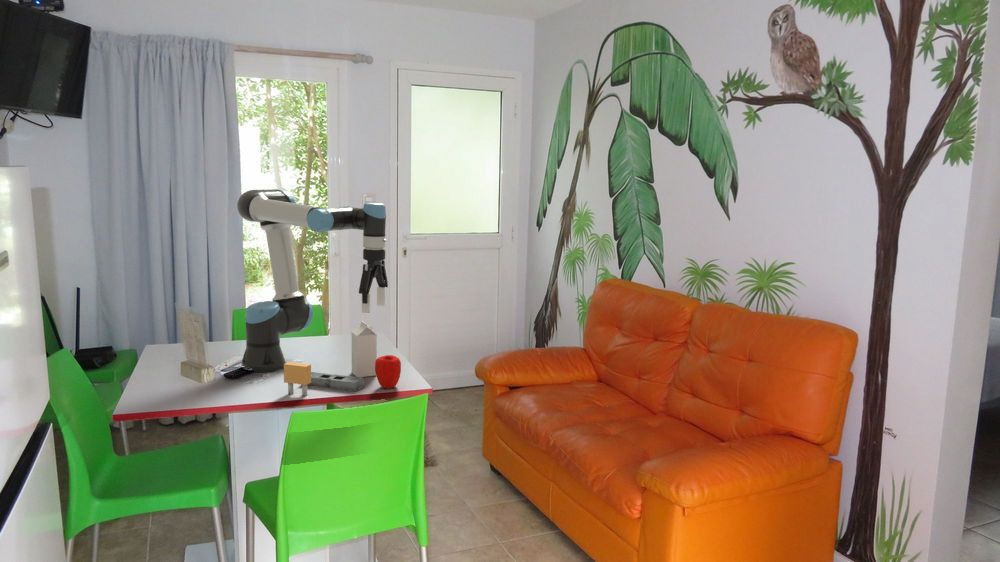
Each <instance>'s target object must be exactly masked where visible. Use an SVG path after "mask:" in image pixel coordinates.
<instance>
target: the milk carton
mask: <svg viewBox="0 0 1000 562" xmlns="http://www.w3.org/2000/svg"><path fill="white" fill-rule="evenodd" d="M373 329H374V327H373V326H372V325H370V324H367V323H366V322H364V321H363V320H360V323H359V325H357V326H356V327H355V328H354V329H353V330H352V331H351V373H352V375H354V377H362V378H365V377H374V376H376V373H375V362H376V359H377V358H378V357H377V355H378V351H377V346H378V345H377V343H378V342H377V341H378V340H377V334H376V333H375V332H374V331H373ZM376 377H377V376H376Z"/></svg>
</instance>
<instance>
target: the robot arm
mask: <svg viewBox="0 0 1000 562" xmlns="http://www.w3.org/2000/svg"><path fill="white" fill-rule="evenodd" d="M236 205H237V207H236V208H237V212H238V214H239V215H240V217H241V218H242V219H244V220H246V221H248V222H255V223H256V222H257V223H259V225H260V228H261V229H262V230H264V232H265V235H266V241H267V248H268V255H269V261H270V265H271V266H270V267H271V272H272V279H273V286H274V292H275V295H274V296H273V298H272V300H265V301H258V302H255V303H252V304H249V306H247V308H246V309H245V315H244V316H245V317H244V322H245V349H244V353H243V357H242V360H241V367H242V366H245V367H249V368H252V369H253V371H254V372H253V373H268V372H270V373H271V372H274V371H275V372H276V371H279V370H281V369H284V364H285V363H286V358H285V355H284V353H283V350H282V348H281V344H280V343H281V342H280V341H281V339H280V338H281V336H283V335H287V334H291V333H292V334H293V333H297V332H300V331H302V330H305V329H307V328H308V327H309V326H310V325H311V323H312V322H313V319H314V310H313V309H314V308H313V306H312V304H311V303H310V301H308V300H307V299H305V294H304V293H302V292H301V291H300V289H299V288H300V287H299V282H298V276H297V268H296V262H295V256H294V251H293V249H294V248H293V244H292V239H291V238H292V237H291V231H290V228H291V226H296V227H297V226H298V227H300V228H301V227H302V228H308V229H311V230H312V231H313V232H319V233H320V232H321V233H323V232H324V233H325V232H331V231H342V230H343V231H344V230H359V231H363V232H362V236H363V237H362V247H363V250H362V259H363V260H365V261H367V262H366V264H365V263H363V265H362V271H361V272H362V273H361V278H360V283H359V288H358V294H360V295H361V313H363V314H365V313H366V314H370V313H371V293H370V291H371V289H372V285H373V281H374V278H375V280H376V283H377V287H376V306H379V307H385V306H386V288H389V287H388V286H389V284H388V283H389V282H388V276H387V272H386V271H387V270H386V266H385V265H386V264H385V262H386V261H385V259H386V249H385V248H386V242H387V241H388V240H387V239H386V225H387V224H386V222H387V212H386V205H385V204H384V203H381V202H378V203H377V202H366V203H363V207H353V206H352V207H351V206H340V207H334V208H333V207H331V208H330V207H329V208H328V207H327V208H326V207H320V206H315V205H307V204H300V203H297V202H296V200H295V197H294V196H293V195H292V194H291V193H290V192H288V191H287V190H284V189H277V188H275V189H251V190H247V191H244V192H243V193H241V195H240V196H239V198H238V200H237V203H236Z"/></svg>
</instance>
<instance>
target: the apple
mask: <svg viewBox="0 0 1000 562" xmlns="http://www.w3.org/2000/svg"><path fill="white" fill-rule="evenodd" d="M375 373H376V380H377V381H378V383H379V385H380V387H381V388H383V387H384V389H386V388H391V389H393V388H392V387H394V388H395V387H397V385H398V383H399V381H400V378H401V373H402V362H401V359H400V358H399V357H397V356H396V355H393V354H391V355H390V354H386V355H382V356H379V357H377V359H376V362H375Z"/></svg>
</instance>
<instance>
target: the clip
mask: <svg viewBox="0 0 1000 562" xmlns="http://www.w3.org/2000/svg"><path fill="white" fill-rule="evenodd" d="M311 372H312V364H309V363H304V362H303V363H302V362H294V361H293V362H291V361H287V362H285V364H284V368H283V383H287V386H288V387H287V390H288V391H287V393H288V395H293V394H294V384H296V385H301V384H302V385H301V395H302V396H303V397H306V396H308V386H307V384H309V383H311Z"/></svg>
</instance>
